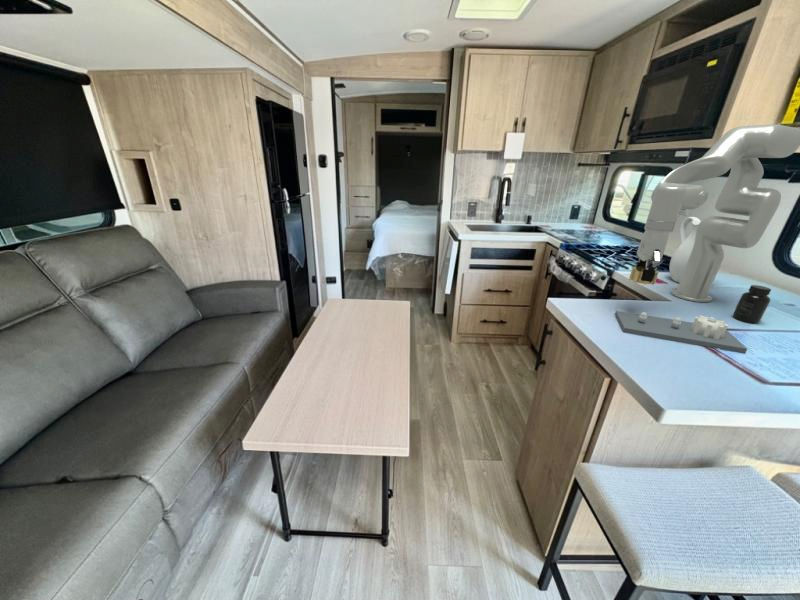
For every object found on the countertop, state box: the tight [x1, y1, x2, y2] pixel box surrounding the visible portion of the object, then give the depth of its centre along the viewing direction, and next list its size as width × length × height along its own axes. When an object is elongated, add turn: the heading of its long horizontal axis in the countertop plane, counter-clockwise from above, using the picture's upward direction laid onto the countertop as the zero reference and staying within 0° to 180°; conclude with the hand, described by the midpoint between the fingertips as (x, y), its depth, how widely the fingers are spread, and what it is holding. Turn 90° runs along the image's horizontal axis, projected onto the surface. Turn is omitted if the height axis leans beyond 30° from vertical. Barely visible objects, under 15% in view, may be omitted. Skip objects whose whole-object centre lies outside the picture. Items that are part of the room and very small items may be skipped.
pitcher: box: [669, 216, 723, 284], centre depth 146 cm, size 24×17×28 cm
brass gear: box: [628, 266, 660, 285], centre depth 113 cm, size 8×8×4 cm
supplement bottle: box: [732, 284, 772, 324], centre depth 111 cm, size 7×7×12 cm
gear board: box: [614, 310, 748, 354], centre depth 103 cm, size 14×30×6 cm, turn 68°
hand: (643, 276), depth 113 cm, fingers closed on brass gear, 7 cm apart
